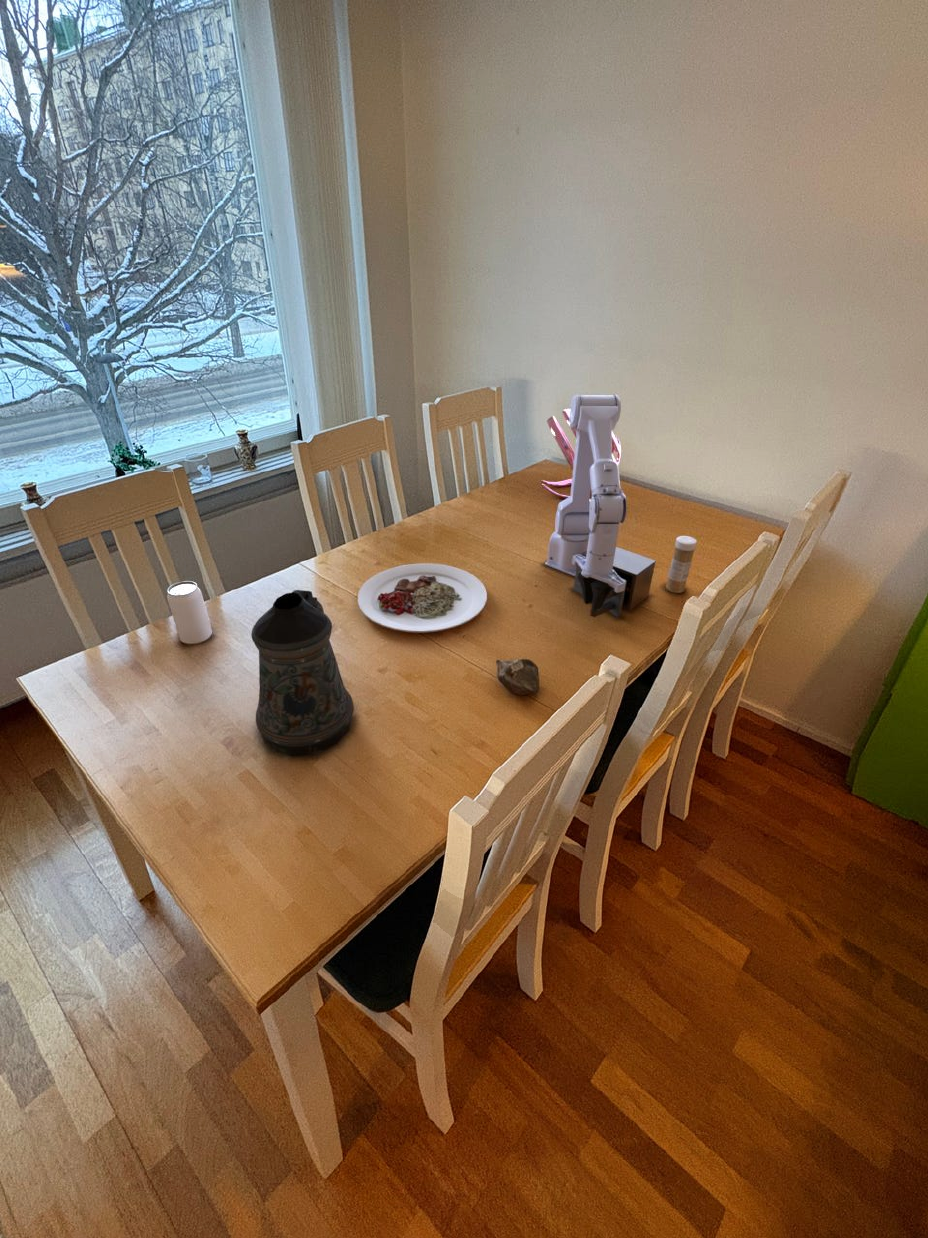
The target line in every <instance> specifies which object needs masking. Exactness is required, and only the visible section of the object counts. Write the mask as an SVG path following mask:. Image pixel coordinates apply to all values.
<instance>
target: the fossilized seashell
mask: <svg viewBox="0 0 928 1238" xmlns="http://www.w3.org/2000/svg"><path fill="white" fill-rule="evenodd" d="M495 663H496V666H497V671H496V672H497V673H496V674H497V676H496V677H497V680H498V681H499V683H500V684H502V686H503V687H504V688H505V689H506V690H508V692H511V693H513V694H517V695H531V694H532V695H535V694H537V693H539V690H540V675H539V673H540V672H539V668H538V667H539V666H538V665H537V664H536V663H535V662H534V661H533V660H531V659H529V658H528V659H527V658H519V657H516V658H515V660H500V659H496V660H495Z"/></svg>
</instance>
